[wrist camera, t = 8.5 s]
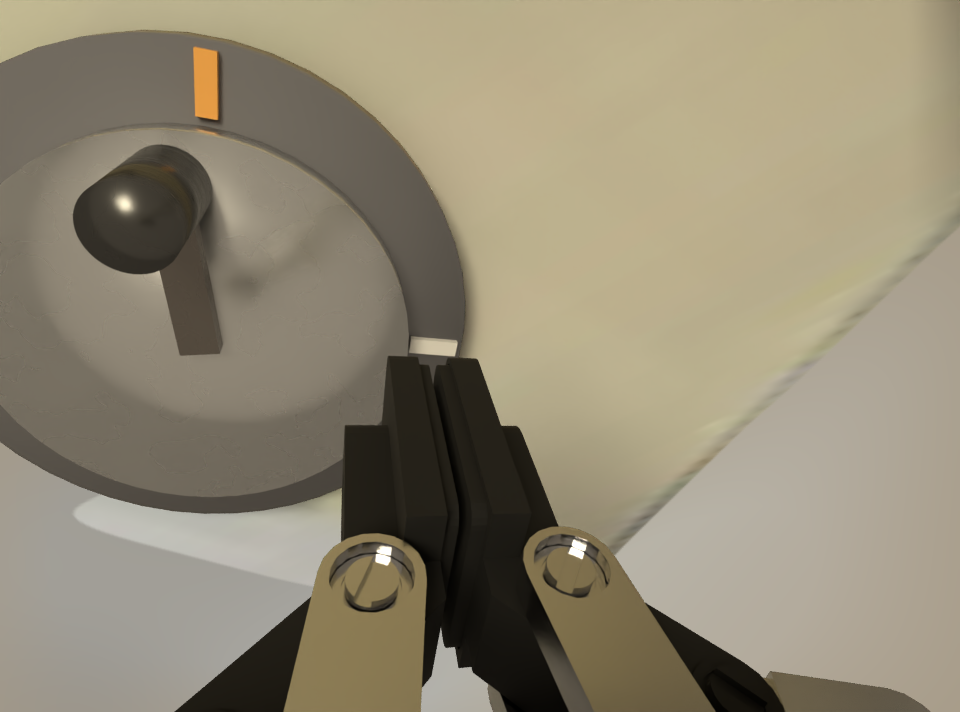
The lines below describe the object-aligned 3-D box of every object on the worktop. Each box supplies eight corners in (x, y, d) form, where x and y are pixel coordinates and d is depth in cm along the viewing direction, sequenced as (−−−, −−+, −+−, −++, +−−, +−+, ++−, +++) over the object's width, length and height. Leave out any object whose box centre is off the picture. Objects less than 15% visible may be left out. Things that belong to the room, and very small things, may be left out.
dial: (407, 461, 33) (419, 551, 28) (53, 492, 30) (-12, 602, 24) (404, 128, 24) (421, 166, 19) (-109, 116, 21) (-270, 158, 15)
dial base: (530, 154, 28) (544, 166, 26) (382, 513, 38) (384, 540, 36) (-97, -92, 20) (-145, -101, 18) (-74, 451, 30) (-103, 482, 28)
